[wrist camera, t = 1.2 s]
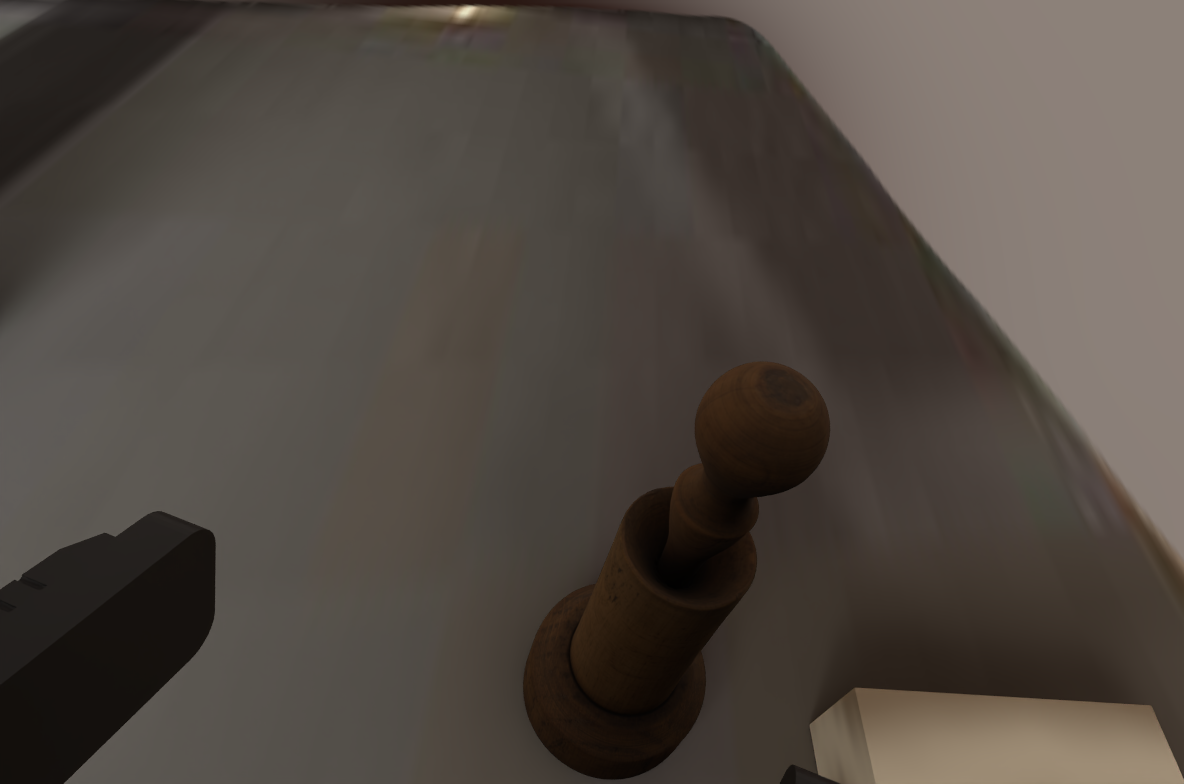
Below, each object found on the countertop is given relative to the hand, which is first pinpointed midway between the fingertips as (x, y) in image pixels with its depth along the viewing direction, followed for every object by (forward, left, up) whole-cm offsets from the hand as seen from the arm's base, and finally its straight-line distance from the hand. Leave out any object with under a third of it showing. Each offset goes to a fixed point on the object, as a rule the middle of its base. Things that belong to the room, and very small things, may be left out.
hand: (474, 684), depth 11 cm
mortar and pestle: (-7, +6, -20) cm, 22 cm away
